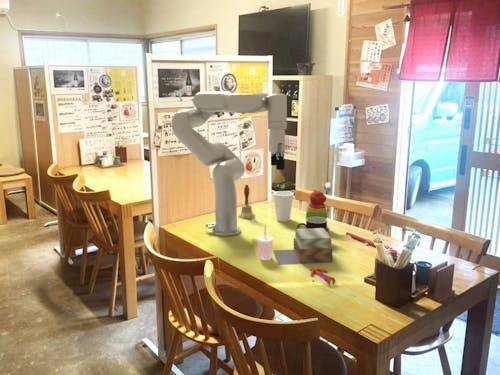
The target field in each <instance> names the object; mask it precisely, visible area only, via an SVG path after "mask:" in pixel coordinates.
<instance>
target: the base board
mask: <svg viewBox="0 0 500 375" xmlns="http://www.w3.org/2000/svg"><path fill="white" fill-rule="evenodd" d="M272 252H273V255H274V258H275V260H276V263H277V265H278V266H279V265H280V266H282V265H307V264H309V265H310V264H330V263H331V264H332V263H334V262H333V260H332V261H329V262H304V263H300V262H299V260H298V258H297V256H296V254H295V252H294V248H293V249H276V250H275V249H272Z"/></svg>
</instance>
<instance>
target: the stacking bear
mask: <svg viewBox="0 0 500 375" xmlns="http://www.w3.org/2000/svg"><path fill="white" fill-rule="evenodd" d="M327 199H328V198H327V195H325V194H324V193H323V192H322V191H321V190H317V189H314V190H313V191H312V192H311V193H310V194H309V201H310V203H309V204H308V205H307V208H306V211H305V220H306V219H307V218H309V217H322V218H325V219H327V218H328V212H327V211H328V210H327V207H326V204H325V203H326V200H327ZM327 220H328V219H327ZM305 229H307V228H306V227H305ZM326 232H327V233H329V232H330V229H329V227H328V224H327V225H326Z"/></svg>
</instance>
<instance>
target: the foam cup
mask: <svg viewBox="0 0 500 375" xmlns="http://www.w3.org/2000/svg"><path fill="white" fill-rule="evenodd" d="M273 199H274V210H275V216H276V218H275V219H276V221H278V222H283V223H285V222H289V221H290V219H291V214H292V207H293V201H294V192H291V191H288V190H287V191H286V190H278V191H275V192H273Z"/></svg>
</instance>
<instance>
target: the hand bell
mask: <svg viewBox="0 0 500 375" xmlns="http://www.w3.org/2000/svg"><path fill="white" fill-rule="evenodd" d="M243 194H244V204H243V205H242V207H241V211H240V213H239V214H238V218H240V219H247V220H248V219H249V220H250V219H254V218H256V214H255V213H254V212H253V210H252V205H251V204H249V196H250V187H249V185H248V184H245V185H244V190H243Z"/></svg>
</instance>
